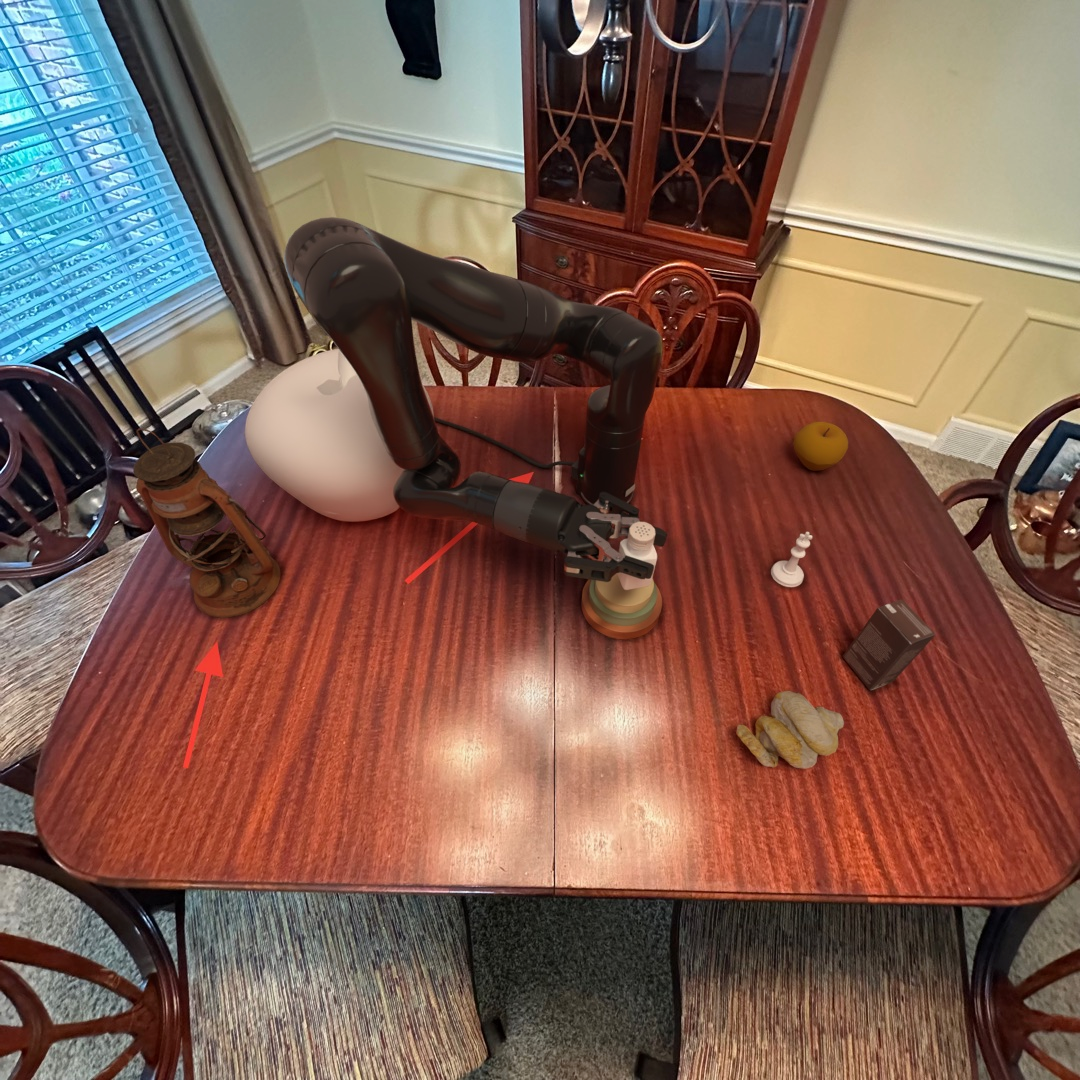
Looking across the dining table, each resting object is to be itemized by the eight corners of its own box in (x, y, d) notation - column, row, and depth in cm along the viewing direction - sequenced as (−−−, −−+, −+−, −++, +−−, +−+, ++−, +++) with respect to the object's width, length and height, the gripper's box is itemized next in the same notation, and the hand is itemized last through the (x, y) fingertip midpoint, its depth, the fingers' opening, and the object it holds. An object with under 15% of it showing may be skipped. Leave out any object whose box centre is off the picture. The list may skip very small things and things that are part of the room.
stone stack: (879, 748, 71) (756, 753, 70) (859, 774, 75) (743, 779, 74) (841, 679, 78) (730, 682, 77) (825, 706, 82) (719, 710, 81)
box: (895, 681, 83) (938, 634, 74) (868, 691, 82) (909, 645, 73) (865, 646, 87) (903, 597, 78) (839, 655, 86) (875, 607, 77)
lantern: (164, 609, 91) (41, 459, 69) (209, 545, 100) (113, 393, 77) (269, 625, 89) (177, 476, 67) (305, 558, 98) (235, 406, 75)
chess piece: (804, 589, 94) (827, 548, 86) (771, 584, 94) (791, 542, 87) (801, 565, 97) (823, 523, 89) (770, 560, 97) (789, 518, 90)
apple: (776, 464, 113) (791, 425, 106) (802, 443, 117) (818, 405, 110) (819, 488, 108) (838, 450, 102) (845, 466, 112) (864, 428, 106)
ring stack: (566, 614, 91) (567, 590, 86) (606, 563, 97) (609, 538, 93) (637, 653, 86) (642, 630, 82) (673, 597, 93) (680, 573, 88)
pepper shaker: (642, 564, 82) (652, 516, 75) (651, 587, 79) (663, 540, 72) (613, 569, 81) (621, 521, 74) (623, 592, 79) (632, 545, 72)
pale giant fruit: (373, 582, 95) (332, 464, 76) (251, 519, 103) (188, 400, 85) (472, 477, 111) (459, 358, 92) (359, 430, 119) (326, 314, 101)
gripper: (511, 533, 72) (646, 579, 68) (557, 460, 81) (679, 497, 77) (512, 571, 78) (638, 616, 74) (555, 500, 87) (669, 536, 82)
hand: (658, 555), depth 75 cm, fingers closed on pepper shaker, 5 cm apart
